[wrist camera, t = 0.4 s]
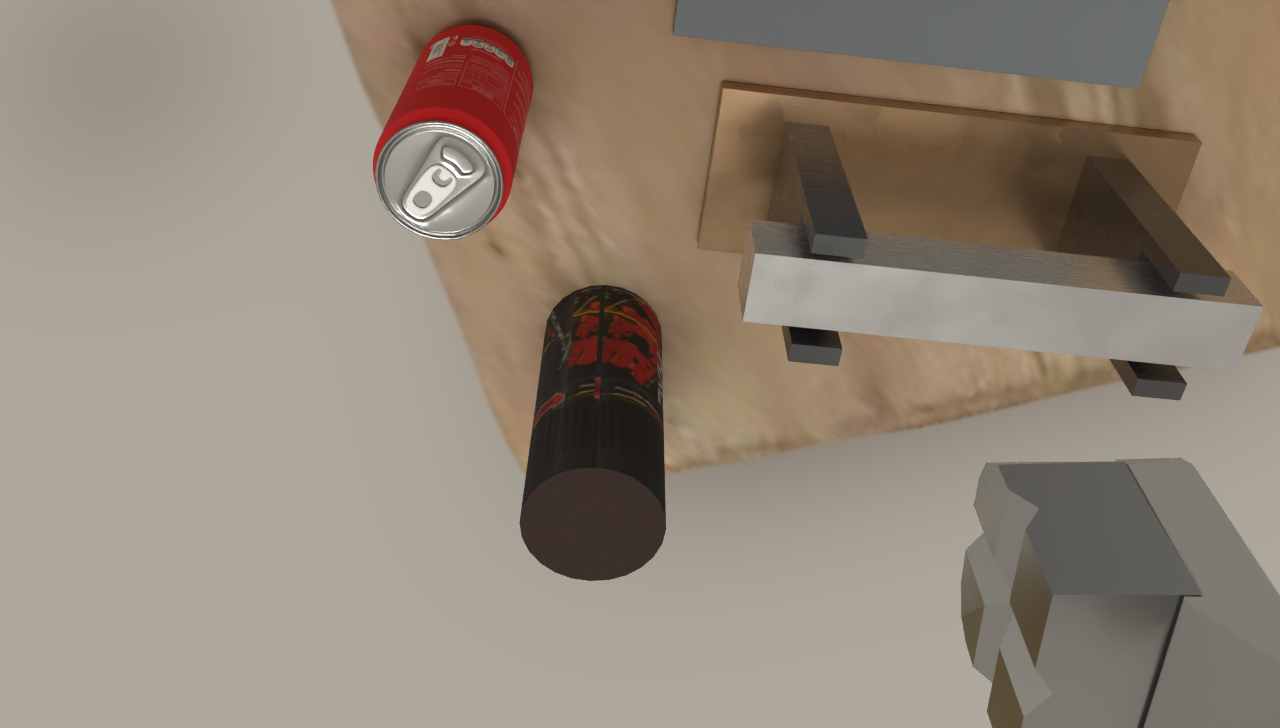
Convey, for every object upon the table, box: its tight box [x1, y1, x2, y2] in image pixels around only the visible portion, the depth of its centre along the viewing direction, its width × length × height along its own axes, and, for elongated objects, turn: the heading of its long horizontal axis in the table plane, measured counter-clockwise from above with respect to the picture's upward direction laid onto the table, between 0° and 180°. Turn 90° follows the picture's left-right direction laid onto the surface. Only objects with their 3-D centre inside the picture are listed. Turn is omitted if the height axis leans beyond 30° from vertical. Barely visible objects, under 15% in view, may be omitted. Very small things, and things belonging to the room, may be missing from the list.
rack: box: [697, 81, 1231, 400], centre depth 53 cm, size 8×22×12 cm, turn 83°
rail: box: [738, 219, 1263, 371], centre depth 49 cm, size 20×3×3 cm, turn 83°
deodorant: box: [520, 285, 666, 581], centre depth 56 cm, size 6×6×15 cm
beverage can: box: [373, 25, 533, 240], centre depth 50 cm, size 5×5×12 cm
